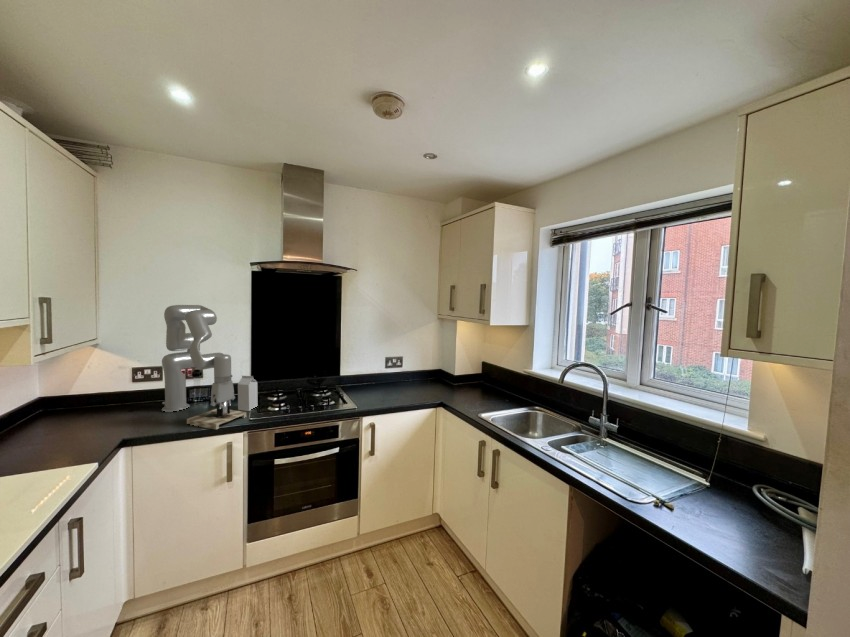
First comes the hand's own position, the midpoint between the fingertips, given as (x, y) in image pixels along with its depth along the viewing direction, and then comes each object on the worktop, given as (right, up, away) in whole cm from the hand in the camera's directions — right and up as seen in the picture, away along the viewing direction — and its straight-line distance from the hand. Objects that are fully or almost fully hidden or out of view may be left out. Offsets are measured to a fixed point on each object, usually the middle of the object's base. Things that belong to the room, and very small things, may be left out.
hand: (223, 414), depth 172 cm
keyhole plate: (-4, -4, +1) cm, 5 cm away
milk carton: (+2, -3, +21) cm, 21 cm away
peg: (0, -4, 0) cm, 4 cm away
